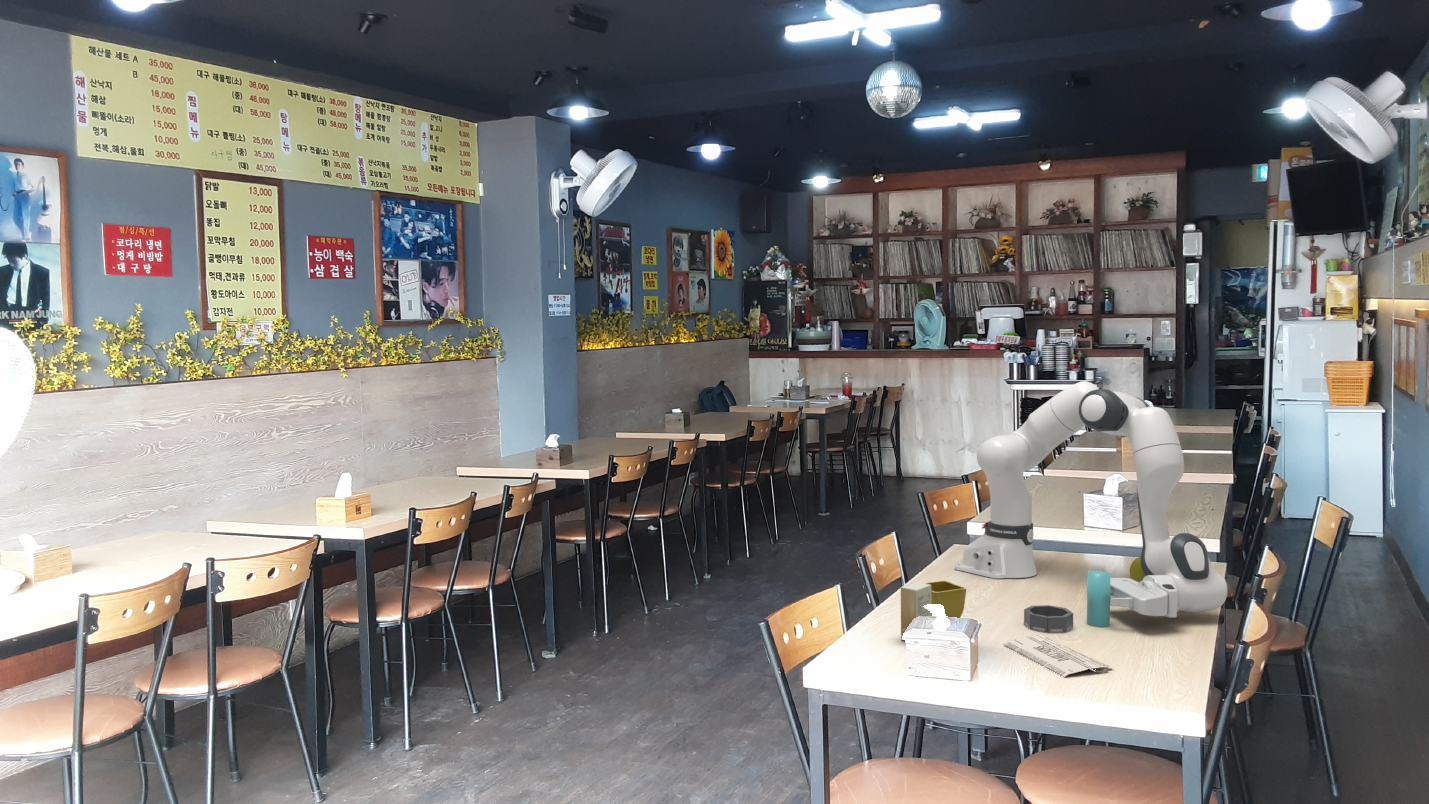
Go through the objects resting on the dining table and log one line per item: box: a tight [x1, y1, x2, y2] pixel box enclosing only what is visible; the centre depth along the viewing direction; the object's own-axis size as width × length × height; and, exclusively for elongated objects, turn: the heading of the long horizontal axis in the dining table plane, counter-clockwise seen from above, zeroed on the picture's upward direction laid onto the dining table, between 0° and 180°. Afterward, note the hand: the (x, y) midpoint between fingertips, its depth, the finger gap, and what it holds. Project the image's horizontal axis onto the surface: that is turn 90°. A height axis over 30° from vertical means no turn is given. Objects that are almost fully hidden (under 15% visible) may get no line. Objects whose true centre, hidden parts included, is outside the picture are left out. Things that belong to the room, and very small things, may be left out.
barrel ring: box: [1023, 604, 1074, 634], centre depth 239 cm, size 10×10×4 cm
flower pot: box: [923, 580, 967, 619], centre depth 242 cm, size 9×9×9 cm
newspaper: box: [1002, 634, 1114, 678], centre depth 218 cm, size 23×12×2 cm, turn 17°
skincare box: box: [900, 581, 932, 639], centre depth 230 cm, size 6×4×12 cm
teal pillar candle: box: [1086, 570, 1111, 628], centre depth 240 cm, size 5×5×12 cm
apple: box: [1129, 556, 1146, 582], centre depth 271 cm, size 8×8×10 cm
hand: (1099, 596), depth 240 cm, fingers open, 8 cm apart
